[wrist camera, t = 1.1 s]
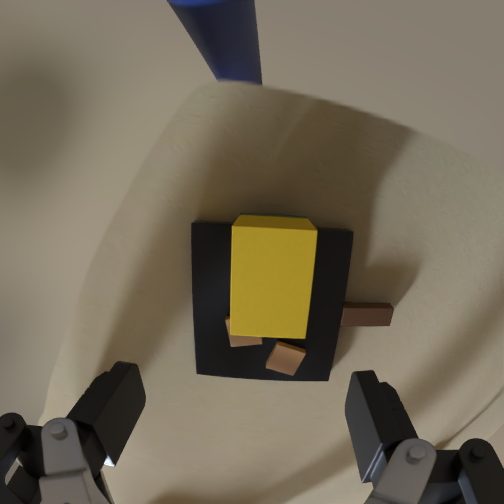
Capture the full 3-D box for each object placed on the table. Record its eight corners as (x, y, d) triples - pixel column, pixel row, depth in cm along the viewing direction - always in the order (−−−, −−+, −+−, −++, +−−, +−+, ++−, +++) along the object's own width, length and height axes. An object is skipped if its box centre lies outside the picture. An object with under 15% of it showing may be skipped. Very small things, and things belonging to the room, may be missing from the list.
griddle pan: (194, 220, 27) (190, 223, 25) (400, 233, 26) (407, 236, 24) (198, 367, 31) (195, 375, 29) (370, 373, 30) (373, 381, 28)
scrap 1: (226, 315, 27) (225, 319, 27) (258, 312, 27) (258, 316, 26) (232, 342, 28) (231, 347, 27) (262, 339, 28) (262, 344, 27)
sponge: (240, 213, 25) (232, 225, 19) (306, 216, 25) (318, 230, 19) (238, 301, 27) (229, 334, 21) (298, 304, 27) (305, 338, 21)
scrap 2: (277, 340, 28) (277, 344, 27) (305, 349, 28) (306, 353, 27) (265, 362, 29) (265, 367, 28) (292, 371, 29) (293, 376, 28)
